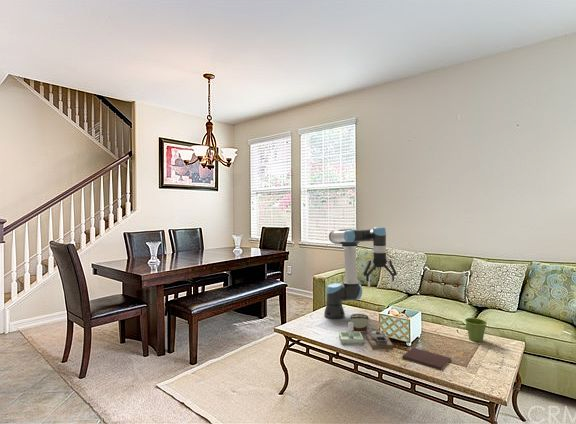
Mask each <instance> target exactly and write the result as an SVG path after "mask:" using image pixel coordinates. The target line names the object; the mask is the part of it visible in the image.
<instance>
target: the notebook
mask: <svg viewBox="0 0 576 424" xmlns="http://www.w3.org/2000/svg"><path fill="white" fill-rule="evenodd" d="M401 358H402V359H403V360H407V361H410V362H413V363H416V364H419V365H423V366H425V367H428V368H433V369H436V370H439V371H442V369H444V368H445V366H446V365H447V364H449V362H450V361H451V359H452V358H451V357H448V356H445V355H441V354H438V353H434V352H430V351H427V350H424V349H420V348H416V347H411V349H409V351H407V352H406V353H403V355H402V356H401Z"/></svg>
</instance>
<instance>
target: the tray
mask: <svg viewBox="0 0 576 424" xmlns="http://www.w3.org/2000/svg"><path fill="white" fill-rule="evenodd" d="M353 336H354V339H349V336H348V331H339V332H338V337H339V341H340V344H341V345H364V343H365V342H364V341H365V339H364V337H363V334H362V333H361V332H353Z"/></svg>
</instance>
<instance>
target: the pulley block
mask: <svg viewBox="0 0 576 424" xmlns="http://www.w3.org/2000/svg"><path fill="white" fill-rule="evenodd" d="M382 332H383V331H379V330H374V331H371V332H370V334H368V333H366V335H365V338H366V340H367V341H368V344H369V346H370V348H371V349H375V348H376V349H377V348H391V349H394V344H393V343H392V342H391V339H390V338H389V336H387V337H385V334H386V333H385V332H383V333H382ZM377 350H378V349H377Z"/></svg>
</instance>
